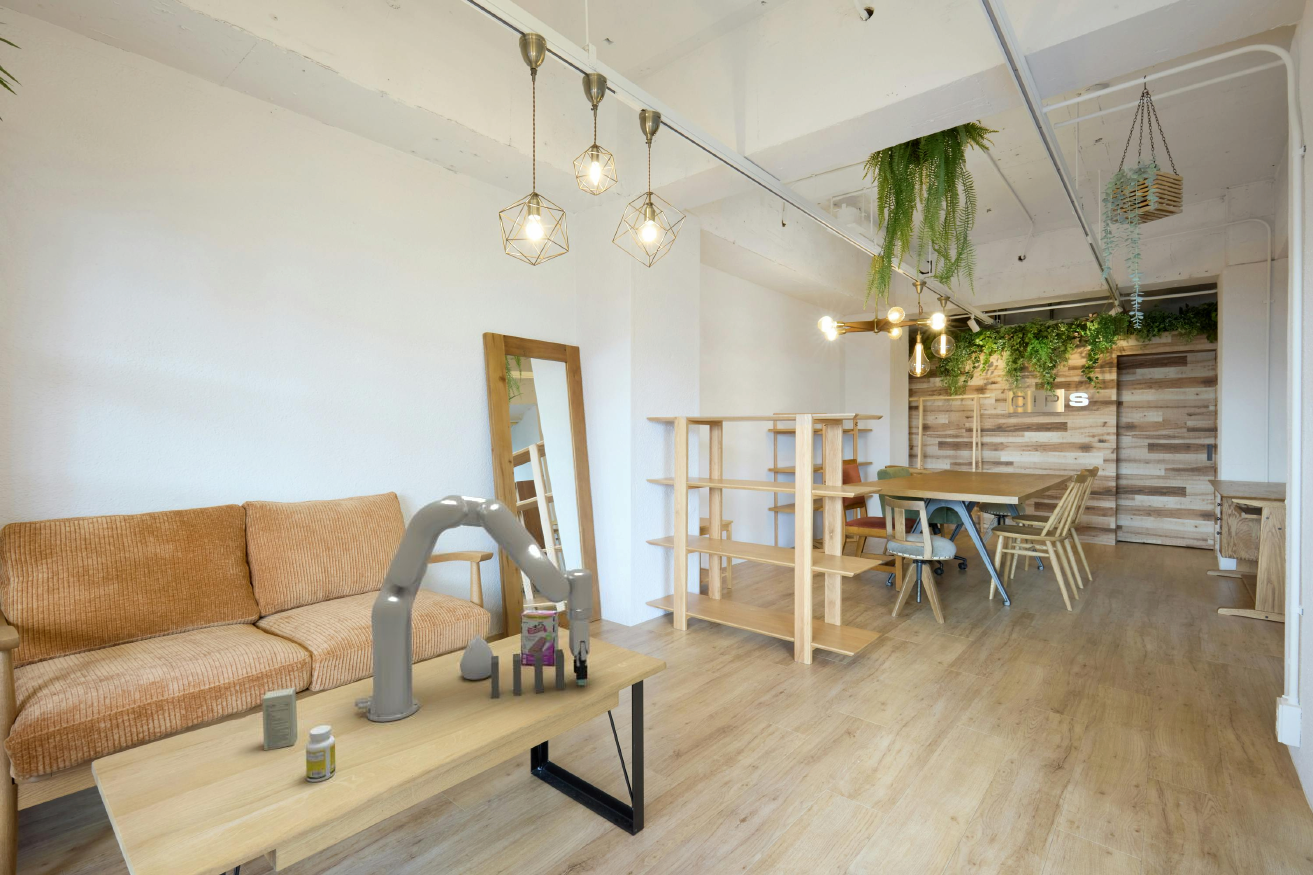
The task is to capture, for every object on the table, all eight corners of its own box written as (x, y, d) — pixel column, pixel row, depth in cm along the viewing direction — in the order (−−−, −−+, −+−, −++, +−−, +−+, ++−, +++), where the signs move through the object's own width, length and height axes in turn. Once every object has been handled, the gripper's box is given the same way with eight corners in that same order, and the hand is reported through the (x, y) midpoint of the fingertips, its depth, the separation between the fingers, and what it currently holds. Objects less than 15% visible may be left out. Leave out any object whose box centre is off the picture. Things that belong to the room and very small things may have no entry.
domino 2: (513, 696, 167) (513, 659, 167) (513, 689, 172) (512, 654, 172) (521, 695, 167) (520, 659, 167) (520, 688, 172) (520, 653, 172)
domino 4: (557, 690, 170) (557, 655, 170) (555, 684, 175) (555, 649, 175) (564, 689, 170) (564, 654, 171) (562, 683, 175) (562, 648, 175)
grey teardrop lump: (456, 673, 184) (456, 634, 184) (491, 667, 189) (490, 629, 189) (463, 685, 175) (462, 644, 175) (499, 678, 180) (498, 638, 180)
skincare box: (297, 737, 144) (297, 686, 145) (294, 745, 140) (293, 693, 141) (266, 742, 142) (266, 690, 142) (262, 751, 138) (261, 697, 138)
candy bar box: (520, 665, 190) (519, 613, 190) (525, 660, 195) (524, 609, 195) (555, 666, 189) (554, 614, 189) (559, 660, 194) (558, 609, 194)
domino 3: (535, 693, 168) (535, 657, 168) (534, 686, 173) (534, 651, 173) (543, 692, 169) (542, 656, 169) (541, 685, 174) (541, 651, 174)
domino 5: (578, 685, 172) (578, 650, 172) (576, 678, 176) (575, 644, 177) (585, 684, 172) (585, 649, 172) (582, 677, 177) (582, 643, 177)
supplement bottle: (327, 766, 131) (327, 721, 131) (340, 773, 128) (340, 727, 128) (301, 777, 127) (301, 730, 127) (314, 785, 124) (313, 737, 124)
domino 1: (491, 698, 165) (491, 662, 165) (491, 691, 170) (491, 656, 170) (499, 697, 166) (498, 661, 166) (498, 690, 170) (498, 655, 171)
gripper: (563, 606, 182) (564, 666, 181) (570, 621, 165) (571, 688, 165) (588, 604, 184) (588, 664, 183) (597, 619, 167) (598, 685, 167)
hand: (580, 674), depth 174 cm, fingers closed on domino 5, 4 cm apart
